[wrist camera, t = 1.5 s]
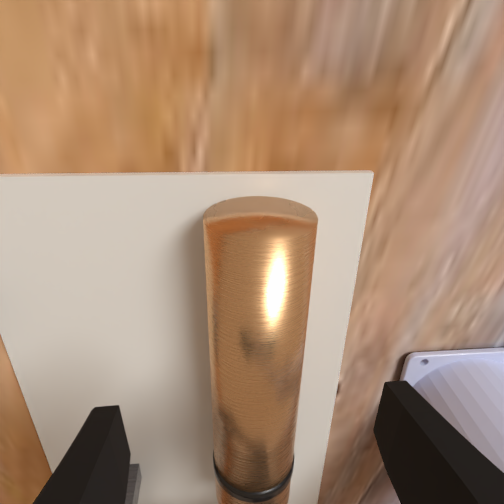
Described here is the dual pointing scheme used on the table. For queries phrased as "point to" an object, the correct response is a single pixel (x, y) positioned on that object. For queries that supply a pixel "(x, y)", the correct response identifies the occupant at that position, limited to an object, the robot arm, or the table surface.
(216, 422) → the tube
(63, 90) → the table surface
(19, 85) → the table surface
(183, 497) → the hearth board
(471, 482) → the robot arm
